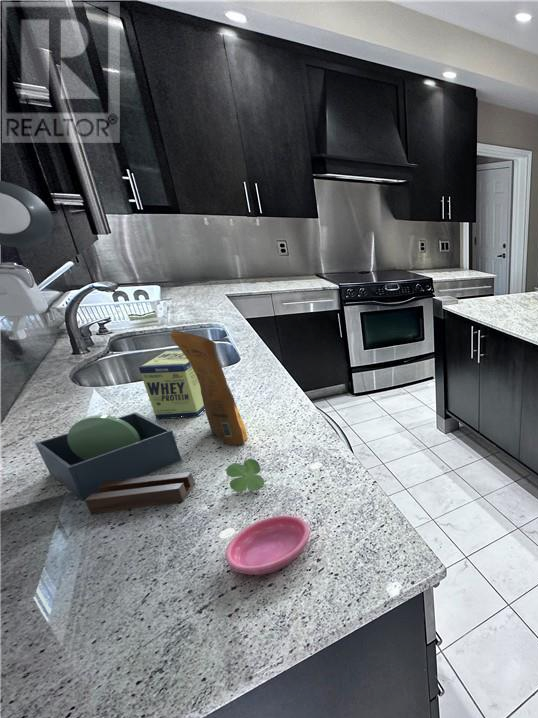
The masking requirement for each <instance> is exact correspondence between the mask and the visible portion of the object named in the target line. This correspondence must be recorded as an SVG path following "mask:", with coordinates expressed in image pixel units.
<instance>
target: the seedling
mask: <svg viewBox="0 0 538 718" xmlns="http://www.w3.org/2000/svg"><path fill="white" fill-rule="evenodd" d="M261 470H262V469H261V465H260V463H259V462H258V460H256V459H254V458H247V459H245V460H244V461H243V464H242V463H237V462H233V463H231V464H229V465H228V466H227V468H226V470H225V473H226V475H227V477H230V478H232V480H230V482H229V487H230V489H231V490H233V491H234V492H236V493H242V492H244V491H246V489H247V491H248V492H250V493H251V492H258V491H259V490H261V489H262V488H263V487H264V485H265V480H264V478H263V477H262V476H261V475H259V473H260V472H261Z"/></svg>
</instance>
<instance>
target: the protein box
mask: <svg viewBox="0 0 538 718" xmlns="http://www.w3.org/2000/svg"><path fill="white" fill-rule="evenodd" d="M138 370H139V373H140V375H141V379H142V382H143V385H144V387H145V390H146V393H147V397H148V399H149V402H150V405H151V408H152V411H153V413H154V416H155V419H156V420H158V419H157V418H164V419H172V418H171V417H180V418H186V417H185V416H198V415H199V414H200V413H201V412H202V411H203V410H204V409H205V408H204V404H203V399H202V395H201V388H200V384H199V381H198V378H197V376H196V374H195V372H194V370H193V368H192V366H191V364H190V362H189V361H188V359H187V358H186V356H185V355H184V354H183V352H182V351H181V349H180V348H178V349H168V350H165V351H164V352H162V353H161V354H159V355H157V356H156V357H154V358H152V359H151V360H149V361H148V362H147V361H146V363H144V364H142V365H140V366H138ZM204 411H205V410H204ZM204 411H203V412H204ZM203 412H202V413H203ZM202 413H201V414H202ZM201 414H200V415H201ZM200 415H199V416H200ZM181 416H182V417H181ZM183 416H184V417H183ZM199 416H198V417H199Z"/></svg>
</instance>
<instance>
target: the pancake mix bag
mask: <svg viewBox="0 0 538 718" xmlns="http://www.w3.org/2000/svg"><path fill="white" fill-rule="evenodd" d="M169 334H170V335H169V336H170V338H171V340H172V342H173V343H174V344H175V345H176V346H177V347H178V349H181V351H182V352H183V354H184V355H185V356H186V358H187V359H188V361H189V362H190V364H191V366H192V368H193V370H194V372H195V374H196V376H197V378H198V381H199V384H200V388H201V395H202V399H203V404H204V408H205V410H204V412H205V416H206V419H207V422H208V425H209V428H210V430H211V432H212V434H214V436H217V438H219V439H220V440H221V441H223V442H224V444H226V445H227V446H241V445H242V446H243V445H246V441H247V440H248V434H247V430H246V429H247V428H246V426H245V423H244V421H243V419H242V415H241V413H240V410H239V409H238V406H237V403H236V400H235V398H234V395H233V393H232V390H231V389H230V386H229V385H228V382H227V377H226V376H225V373H224V370H223V367H222V364H221V360H220V358H219V355H218V350H217V345H216V344H217V342H215V341H213V340H211V339H209V338H207V337H204V336H201V335H197V334H192V333H187V332H183V331H181V330H180V331H179V330H177V329H172V331H171V332H170V333H169Z"/></svg>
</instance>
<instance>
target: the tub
mask: <svg viewBox="0 0 538 718" xmlns="http://www.w3.org/2000/svg"><path fill="white" fill-rule="evenodd" d="M118 418H119V419H121V420H123V421H125V422H127V423H129V424H130V425H131V426H132V427H133V428H134V429H135V430H136V431H137V433H138V434H139V437H140V441H139V442H136V443H133V444H131V445H128V446H125V447H122V448H119V449H117V450H114V451H111V452H108V453H105V454H103V455H100V456H97V457H94V458H91V459H89V460H86V461H85V460H83V459H82V458H80V457H79V456H77V455H76V454H75V453H74V452H73V451H72V450H71V448H70V446H69V444H68V441H67V435H68V432H67V433H63V434H61V435H58V436H57V435H56V436H54V437H51V438H47V439H44V440H41V441H38V442H35V443H34V445H35V447H36V449H37V451H38V453H39V454H40V456H41V459H42V461H43V463H44V465H45V467H46V469H47V471H48V474H49V475H50V476H52V477H53V478H54V479H56V481H58V482H59V483H61V484H62V485H63V486H64V487H66V488H67V489H68V490H69V491H71V492H72V494H74V495H75V496H76V497H78V498H79V499H80V500H82V501H84V502H85V500H86V499H87V498H88V497H89V496H90V495H91V494H94V493H100V491H99V489H98V487H99V486H100V485H101V484H102V483H103V482H105V481H113V480H122V479H131V478H139V477H145V476H146V475H148V474H151V473H153V472H155V471H158V470H160V469H162V468H165V467H167V466H170V465H173V464H175V463H176V462H180V461H182V457H181V454H180V451H179V447H178V444H177V441H176V439H175V436H174V432H173V430H172V429H170V428H168V427H166V426H163V425H162V424H159V423H158V422H156V421H154V420H152V419H151V418H149V417H146V416H144V415H143V414H141V413H139V412H137V411H136V412H132V413H128V414H126V415H122V416H119V417H118Z"/></svg>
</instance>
